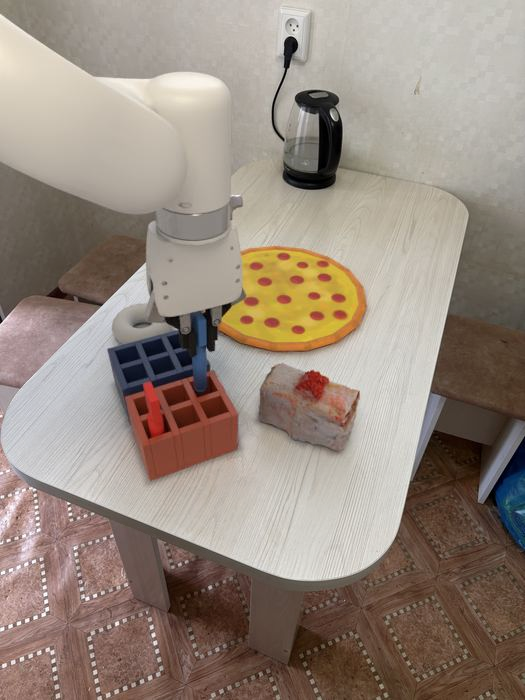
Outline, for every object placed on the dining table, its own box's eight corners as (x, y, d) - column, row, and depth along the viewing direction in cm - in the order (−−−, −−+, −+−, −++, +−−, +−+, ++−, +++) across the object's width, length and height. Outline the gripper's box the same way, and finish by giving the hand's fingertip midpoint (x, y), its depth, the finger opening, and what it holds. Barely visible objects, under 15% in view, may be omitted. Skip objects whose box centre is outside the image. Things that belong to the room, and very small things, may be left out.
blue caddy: (130, 425, 73) (122, 389, 67) (115, 384, 78) (106, 348, 73) (211, 399, 77) (210, 363, 72) (192, 362, 83) (189, 326, 77)
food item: (357, 422, 75) (369, 376, 68) (341, 463, 70) (353, 418, 63) (272, 392, 79) (276, 346, 72) (251, 429, 73) (253, 383, 67)
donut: (134, 309, 92) (101, 342, 85) (131, 293, 90) (98, 326, 83) (182, 324, 90) (153, 359, 83) (181, 308, 87) (151, 343, 80)
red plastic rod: (158, 469, 67) (146, 403, 58) (151, 450, 69) (139, 384, 60) (171, 464, 68) (162, 398, 58) (164, 446, 70) (154, 380, 60)
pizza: (249, 234, 112) (249, 230, 111) (388, 279, 102) (389, 274, 101) (163, 313, 91) (162, 308, 90) (326, 379, 81) (327, 374, 80)
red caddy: (150, 481, 66) (142, 446, 61) (132, 432, 72) (124, 396, 67) (237, 449, 71) (238, 414, 65) (214, 405, 76) (213, 369, 71)
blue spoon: (198, 400, 67) (194, 322, 58) (190, 383, 69) (185, 306, 60) (211, 396, 68) (209, 319, 59) (202, 380, 70) (199, 303, 61)
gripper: (249, 186, 56) (244, 315, 68) (105, 209, 50) (128, 344, 63) (279, 217, 51) (268, 350, 64) (124, 247, 45) (145, 385, 58)
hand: (198, 346), depth 63 cm, fingers closed on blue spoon, 1 cm apart
